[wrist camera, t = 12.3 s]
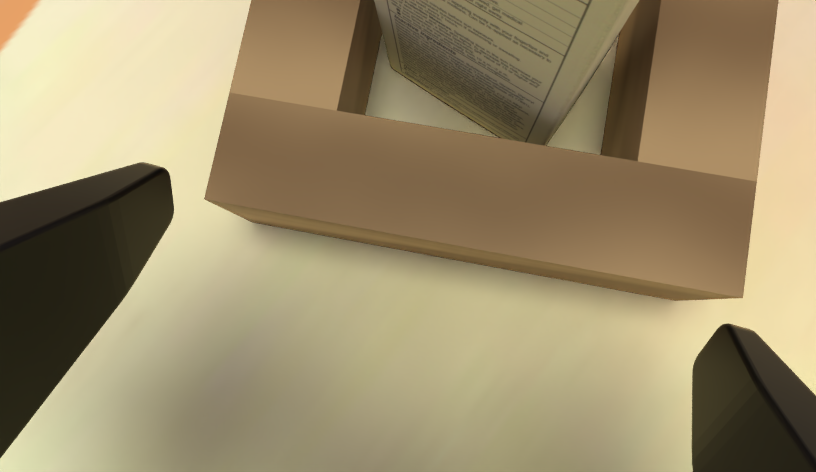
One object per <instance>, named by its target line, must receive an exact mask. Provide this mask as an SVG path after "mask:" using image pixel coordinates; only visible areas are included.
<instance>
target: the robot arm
mask: <svg viewBox="0 0 816 472" xmlns="http://www.w3.org/2000/svg"><path fill="white" fill-rule="evenodd" d="M173 214H174V204H173V196H172V188H171V180H170V175H169V173H168V171H167V170H166V169H165V168H163V167H160V166H156V165H152V164H149V163H144V162H141V163H137V164H133V165H130V166H126V167H123V168H119V169H116V170H112V171H109V172H105V173H102V174H98V175H95V176H91V177H87V178H84V179H80V180H77V181H73V182H70V183H66V184H63V185H59V186H56V187H52V188H49V189H45V190H42V191H38V192H35V193H31V194H28V195H24V196H21V197H17V198H14V199H10V200H7V201H3V202H0V458H1V457H2V455H3V454H4V453H5V452H6V450H7V449H8V448H9V446H10V445H11V444H12V443H13V441H14V440H15V439H16V437H17V436H18V435H19V433H20V432H21V431H22V430H23V428H24V427H25V426H26V424H27V423H28V422H29V421H30V419H31V418H32V417H33V415H34V414H35V413H36V411H37V410H38V409H39V408H40V406H41V405H42V404H43V402H44V401H45V400H46V399H47V397H48V396H49V395H50V393H51V392H52V391H53V389H54V388H55V387H56V386H57V384H58V383H59V382H60V380H61V379H62V378H63V377H64V375H65V374H66V373H67V371H68V370H69V369H70V367H71V366H72V365H73V364H74V362H75V361H76V360H77V358H78V357H79V356H80V355H81V353H82V352H83V351H84V349H85V348H86V347H87V346H88V344H89V343H90V342H91V340H92V339H93V338H94V336H95V335H96V334H97V333H98V331H99V330H100V329H101V327H102V326H103V325H104V324H105V322H106V321H107V320H108V318H109V317H110V316H111V314H112V313H113V312H114V311H115V309H116V308H117V307H118V305H119V304H120V303H121V301H122V300H123V299H124V297H125V296H126V295H127V293H128V292H129V290H130V289H131V287H132V285H133V284H134V282H135V281H136V279H137V278H138V276H139V274H140V273H141V271H142V269H143V268H144V266H145V264H146V263H147V261H148V259H149V258H150V256H151V254H152V253H153V251H154V249H155V248H156V246H157V244H158V243H159V241H160V239H161V238H162V236H163V235H164V233H165V231H166V230H167V228H168V226H169V225H170V223H171V221H172V218H173ZM692 466H693V472H816V395H815V394H814V393H813V392H812V391H811V390H810V389H809V388H808V387H807V386H806V385H805V384H804V383H803V382H802V381H801V380H800V379H799V378H798V376H797V375H796V374H795V373H794V372H793V371H792V370H791V369H790V368H789V367H788V366H787V365H786V364H785V363H784V362H783V361H782V360H781V359H780V358H779V357H778V355H777V354H776V353H775V352H774V351H773V350H772V349H771V348H770V347H769V346H768V345H767V344H766V343H765V342H764V341H763V340H762V339H761V338H760V337H759V336H758V334H756V333H755V332H754V331H752V330H750V329H747V328H743V327H739V326H736V325H732V324H723V325H722V326H720V327H719V328H718V329H717V330H716V332H715V333H714V334H713V336H712V337H711V338H710V340H709V341H708V342H707V344H706V345H705V346H704V348H703V349H702V350H701V352H700V353H699V354H698V356H697V357H696V360H695V362H694V365H693V375H692Z"/></svg>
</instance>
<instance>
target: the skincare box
mask: <svg viewBox="0 0 816 472" xmlns="http://www.w3.org/2000/svg"><path fill="white" fill-rule="evenodd" d="M374 2H375V5H376V10H377V14H378V18H379V22H380V26H381V30H382V34H383V38H384V42H385V46H386V50H387V54H388V58H389V62H390V65H391V67H392V68H393V69H394V70H396V71H397V72H399V73H400V74H402V75H403V76H405V77H406V78H408V79H409V80H411V81H413V82H414V83H415V84H417V85H418V86H420V87H421V88H423V89H424V90H426V91H428V92H429V93H431V94H432V95H434V96H435V97H437V98H439V99H440V100H442V101H443V102H445V103H447V104H448V105H450V106H451V107H453V108H454V109H456V110H457V111H459V112H461V113H462V114H464V115H466V116H467V117H469V118H470V119H472V120H473V121H475V122H477V123H478V124H480V125H481V126H483V127H485V128H486V129H488V130H490V131H491V132H493V133H494V134H496V135H498V136H499V137H501V138H503V139H508V140H514V141H520V142H526V143H532V144H538V145H543V146H546V145H547V143H548V142H549V140H550V139H551V138H552V136H553V135H554V133H555V132H556V131H557V129H558V128H559V126H560V125H561V123H562V122H563V120H564V119H565V117H566V116H567V114H568V113H569V111H570V110H571V108H572V107H573V105H574V104H575V102H576V101H577V99H578V98H579V96H580V95H581V93H582V92H583V90H584V89H585V87H586V86H587V84H588V82H589V81H590V79H591V78H592V76H593V74H594V73H595V71H596V69H597V68H598V66H599V65H600V63H601V62H602V60H603V58H604V57H605V55H606V54H607V52H608V51H609V49H610V47H611V46H612V44H613V42H614V41H615V39H616V37H617V36H618V34H619V33H620V31H621V29H622V28H623V26H624V24H625V23H626V21H627V19H628V18H629V16H630V15H631V13H632V11H633V10H634V8H635V7H636V5H637V3H638V2H639V0H374Z"/></svg>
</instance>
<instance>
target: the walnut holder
mask: <svg viewBox="0 0 816 472" xmlns="http://www.w3.org/2000/svg"><path fill="white" fill-rule="evenodd" d="M777 7H778V0H639V2H638V3H637V5H636V7H635V8H634V10H633V11H632V13H631V15H630V16H629V18H628V19H627V21H626V23H625V24H624V26H623V28H622V29H621V31H620V33H619V40H618V46H617V53H616V59H615V66H614V72H613V79H612V85H611V92H610V98H609V105H608V111H607V118H606V124H605V131H604V137H603V144H602V150H601V155H597V154H591V153H585V152H579V151H573V150H567V149H561V148H555V147H549V146H543V145H538V144H532V143H526V142H520V141H514V140H508V139H502V138H496V137H490V136H484V135H478V134H472V133H466V132H461V131H455V130H449V129H443V128H437V127H431V126H425V125H419V124H413V123H407V122H401V121H395V120H389V119H384V118H378V117H372V116H366V115H365V111H366V106H367V102H368V97H369V92H370V87H371V82H372V77H373V72H374V68H375V63H376V58H377V53H378V48H379V43H380V39H381V34H382V30H381V26H380V22H379V18H378V14H377V10H376V5H375V2H374V0H251V4H250V9H249V13H248V17H247V21H246V25H245V30H244V34H243V38H242V42H241V46H240V51H239V55H238V59H237V63H236V68H235V72H234V76H233V80H232V84H231V89H230V93H229V97H228V101H227V105H226V110H225V114H224V118H223V122H222V127H221V131H220V135H219V139H218V143H217V148H216V152H215V156H214V160H213V164H212V169H211V173H210V177H209V181H208V186H207V190H206V194H205V198H204V199H205V200H207V201H209V202H211V203H213V204H215V205H218V206H220V207H222V208H224V209H226V210H228V211H230V212H232V213H234V214H236V215H238V216H240V217H243V218H245V219H247V220H249V221H251V222H254V223H259V224H265V225H270V226H276V227H281V228H286V229H292V230H297V231H303V232H308V233H313V234H319V235H324V236H330V237H335V238H340V239H346V240H351V241H357V242H362V243H367V244H373V245H378V246H384V247H389V248H394V249H400V250H405V251H411V252H416V253H421V254H427V255H432V256H438V257H443V258H448V259H454V260H459V261H465V262H470V263H475V264H481V265H486V266H492V267H497V268H502V269H508V270H513V271H519V272H524V273H529V274H535V275H540V276H546V277H551V278H556V279H562V280H567V281H573V282H578V283H583V284H589V285H594V286H600V287H605V288H610V289H616V290H621V291H627V292H632V293H637V294H643V295H648V296H654V297H659V298H664V299H670V300H675V301H678V300H703V299H728V298H743V292H744V283H745V275H746V267H747V258H748V250H749V242H750V233H751V225H752V217H753V208H754V200H755V191H756V183H757V175H758V166H759V158H760V150H761V141H762V133H763V125H764V116H765V108H766V99H767V91H768V83H769V74H770V66H771V58H772V49H773V41H774V33H775V24H776V16H777Z"/></svg>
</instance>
